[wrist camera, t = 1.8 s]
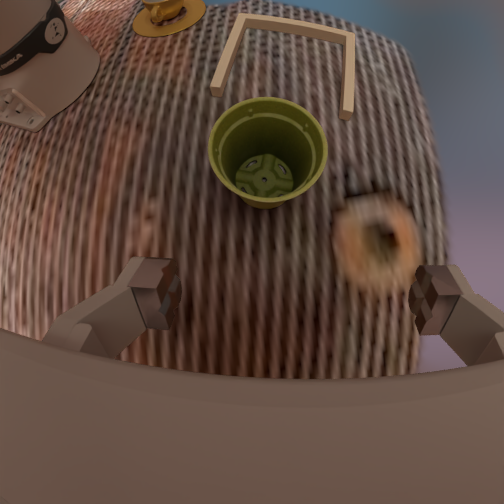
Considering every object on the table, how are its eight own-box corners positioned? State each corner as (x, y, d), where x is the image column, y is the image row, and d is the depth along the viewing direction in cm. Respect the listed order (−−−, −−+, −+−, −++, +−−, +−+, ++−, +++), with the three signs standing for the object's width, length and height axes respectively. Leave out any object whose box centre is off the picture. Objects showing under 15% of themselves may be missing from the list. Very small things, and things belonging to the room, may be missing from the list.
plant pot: (327, 192, 31) (351, 158, 22) (255, 244, 30) (255, 226, 22) (273, 128, 32) (278, 81, 23) (202, 174, 31) (185, 135, 23)
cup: (147, 0, 36) (140, -20, 31) (213, -5, 36) (210, -28, 30) (122, 42, 35) (111, 19, 29) (195, 36, 34) (189, 10, 29)
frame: (212, 96, 32) (209, 86, 30) (239, 22, 34) (239, 13, 32) (348, 121, 32) (353, 112, 30) (351, 42, 34) (354, 33, 32)
